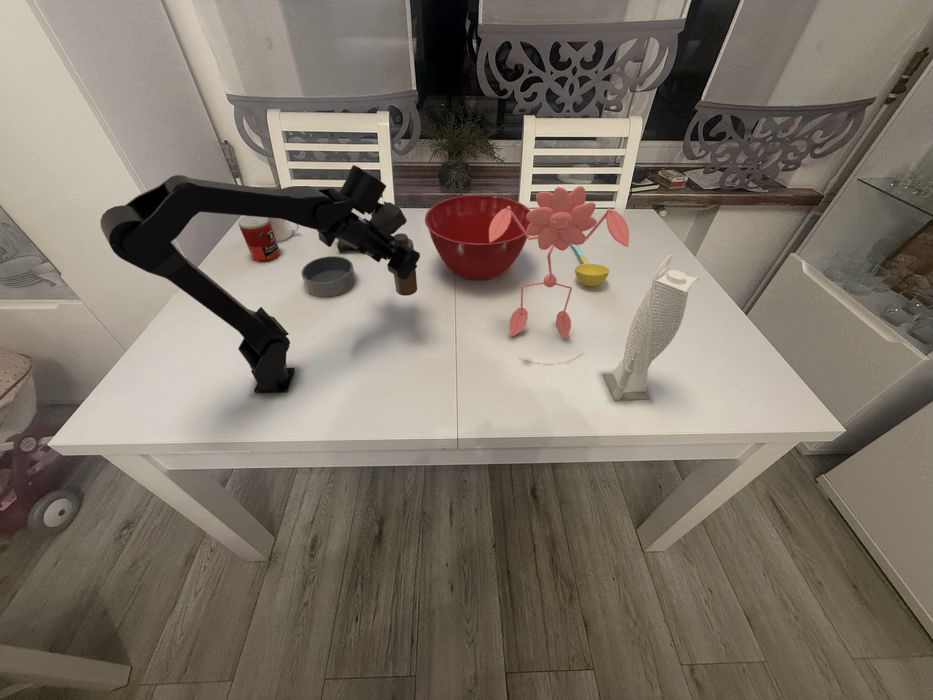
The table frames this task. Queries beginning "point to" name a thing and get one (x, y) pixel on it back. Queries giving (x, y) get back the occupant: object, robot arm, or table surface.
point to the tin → (329, 276)
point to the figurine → (557, 237)
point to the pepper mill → (410, 283)
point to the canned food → (259, 238)
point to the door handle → (344, 247)
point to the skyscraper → (650, 332)
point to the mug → (281, 228)
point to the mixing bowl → (476, 235)
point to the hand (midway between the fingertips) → (408, 263)
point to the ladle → (590, 271)
